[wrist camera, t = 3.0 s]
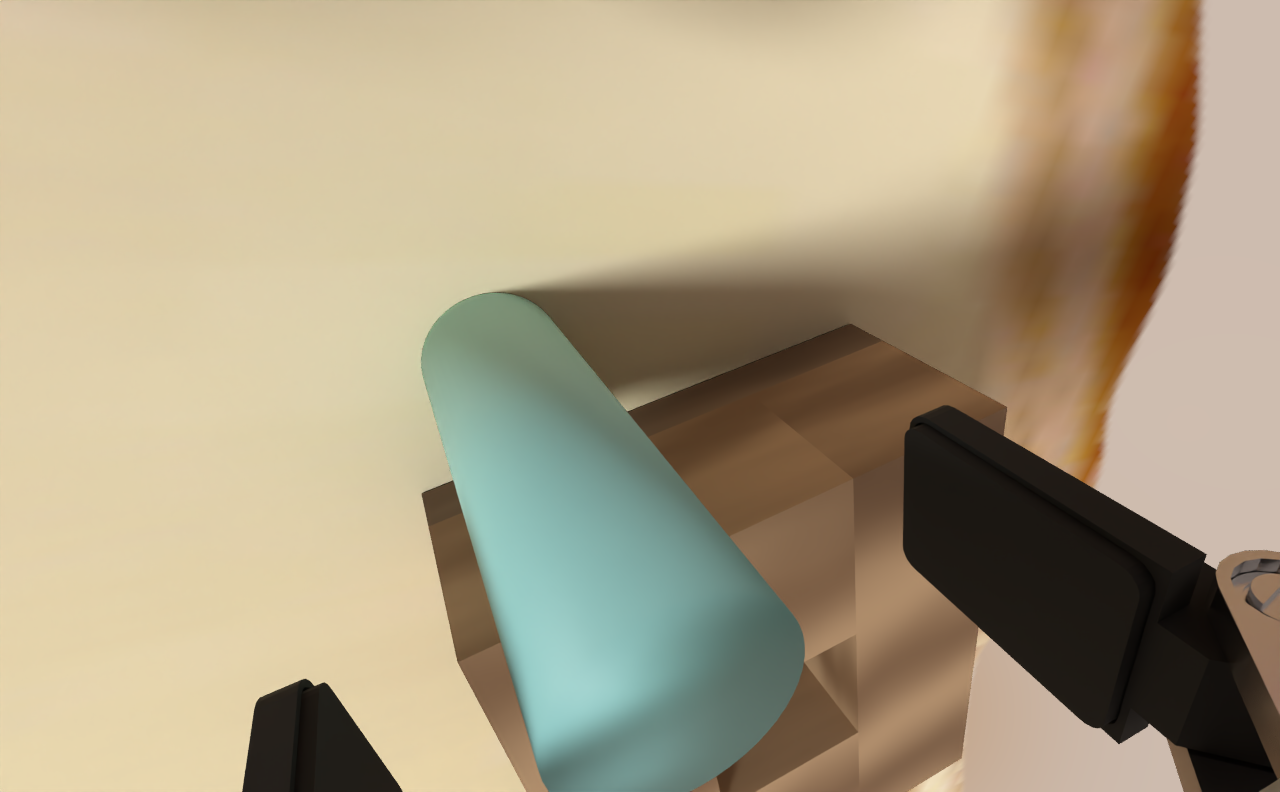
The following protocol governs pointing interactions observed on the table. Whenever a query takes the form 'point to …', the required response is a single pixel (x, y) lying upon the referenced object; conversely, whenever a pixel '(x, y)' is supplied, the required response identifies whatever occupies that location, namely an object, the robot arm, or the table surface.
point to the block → (793, 563)
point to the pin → (601, 566)
